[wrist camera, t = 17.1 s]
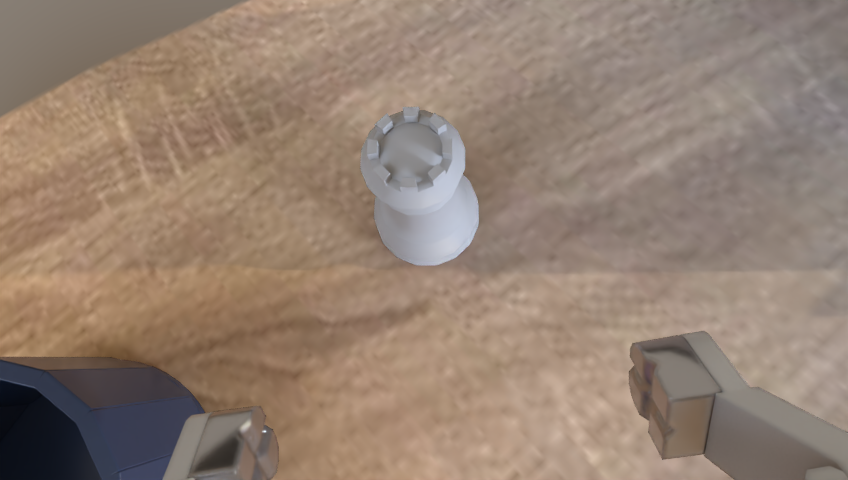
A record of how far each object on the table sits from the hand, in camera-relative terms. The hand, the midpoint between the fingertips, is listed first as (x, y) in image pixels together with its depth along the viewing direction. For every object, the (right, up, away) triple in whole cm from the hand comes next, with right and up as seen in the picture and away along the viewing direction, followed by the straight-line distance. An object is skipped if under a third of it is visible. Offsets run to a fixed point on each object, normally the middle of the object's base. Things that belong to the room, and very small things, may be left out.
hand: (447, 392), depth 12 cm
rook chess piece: (0, +4, +12) cm, 12 cm away
